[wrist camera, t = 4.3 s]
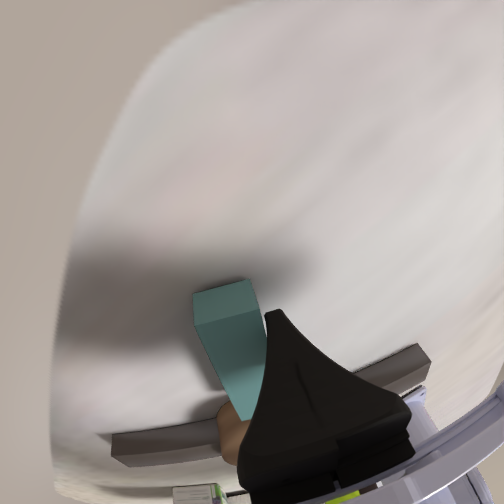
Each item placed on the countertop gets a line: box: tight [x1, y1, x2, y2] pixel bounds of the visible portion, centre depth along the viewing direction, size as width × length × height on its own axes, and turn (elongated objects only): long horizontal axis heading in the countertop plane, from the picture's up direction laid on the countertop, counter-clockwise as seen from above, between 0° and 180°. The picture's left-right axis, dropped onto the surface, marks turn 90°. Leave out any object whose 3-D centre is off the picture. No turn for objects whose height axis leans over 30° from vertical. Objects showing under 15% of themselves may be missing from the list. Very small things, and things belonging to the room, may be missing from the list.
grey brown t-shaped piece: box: [111, 343, 431, 467], centre depth 20 cm, size 16×24×3 cm, turn 105°
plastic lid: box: [227, 493, 251, 504], centre depth 32 cm, size 14×14×2 cm
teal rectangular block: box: [193, 279, 267, 421], centre depth 14 cm, size 8×2×2 cm, turn 12°
